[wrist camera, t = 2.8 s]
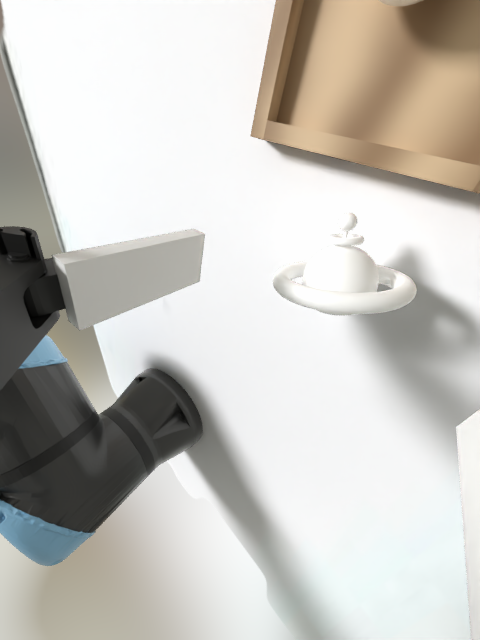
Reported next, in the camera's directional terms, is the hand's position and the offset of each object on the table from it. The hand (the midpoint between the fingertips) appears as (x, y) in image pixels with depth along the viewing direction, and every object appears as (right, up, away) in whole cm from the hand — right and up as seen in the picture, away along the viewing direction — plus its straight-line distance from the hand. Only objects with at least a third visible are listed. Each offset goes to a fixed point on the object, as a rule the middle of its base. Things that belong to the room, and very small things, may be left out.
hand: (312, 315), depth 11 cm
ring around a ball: (+5, +5, +7) cm, 10 cm away
